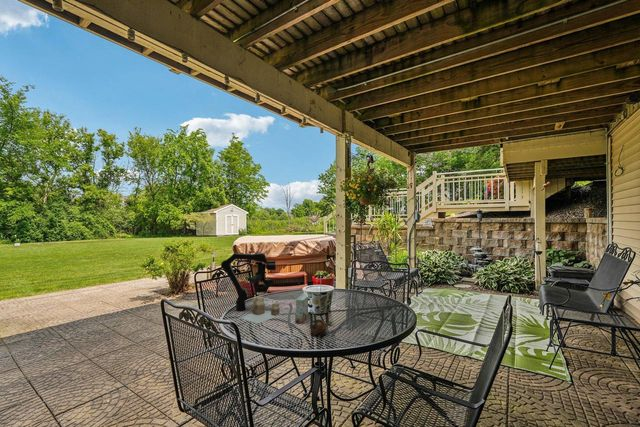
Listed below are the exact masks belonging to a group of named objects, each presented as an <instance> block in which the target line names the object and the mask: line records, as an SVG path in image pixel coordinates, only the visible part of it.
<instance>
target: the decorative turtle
mask: <svg viewBox="0 0 640 427" xmlns="http://www.w3.org/2000/svg"><path fill="white" fill-rule="evenodd" d="M327 327H328V326H327V323H326V322H325V321H323V319H318V318H317V319H314V320H312V321H311V322H310V324H309V329H310V331H311V332H312V333H311V334H312V335H313V336H314V337H315V336H317V335H318V334H320V335H321V336H324V335H325V333H326V330H327Z"/></svg>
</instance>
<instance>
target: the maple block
mask: <svg viewBox="0 0 640 427" xmlns="http://www.w3.org/2000/svg"><path fill="white" fill-rule="evenodd" d="M252 302H253V304H252V305H256V306H260V305H263V304H265V297H264V296H261V295H257V296H254V297H253V301H252Z"/></svg>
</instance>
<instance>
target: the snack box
mask: <svg viewBox="0 0 640 427" xmlns="http://www.w3.org/2000/svg"><path fill="white" fill-rule="evenodd" d="M309 315H310V314H309V312H308V297H307V296H306V295H304V292H303V293H301V294H300V296H299V297H297V298H296V300H295V318H294V319H295V320H294V323H295V324H303V323H304V322H305V321H306V320H307V318H309Z"/></svg>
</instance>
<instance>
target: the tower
mask: <svg viewBox="0 0 640 427" xmlns="http://www.w3.org/2000/svg"><path fill="white" fill-rule="evenodd" d="M270 311H271V315H274V316H276V315H279V314H280V302H272V303H271V309H270ZM279 316H280V315H279ZM276 317H277V316H276Z"/></svg>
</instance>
